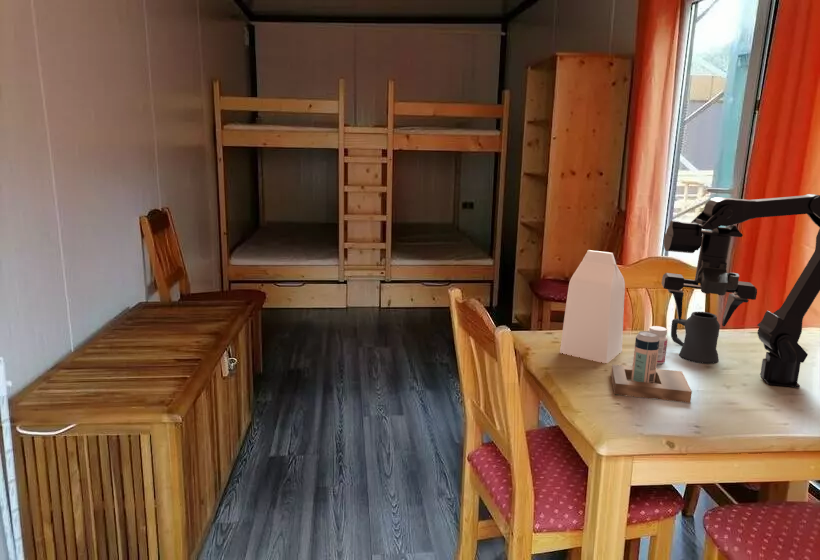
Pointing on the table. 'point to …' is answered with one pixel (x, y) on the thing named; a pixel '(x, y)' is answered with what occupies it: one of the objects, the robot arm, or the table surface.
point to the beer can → (645, 357)
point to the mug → (698, 337)
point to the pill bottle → (660, 342)
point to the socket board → (651, 385)
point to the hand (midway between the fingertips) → (701, 322)
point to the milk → (594, 309)
